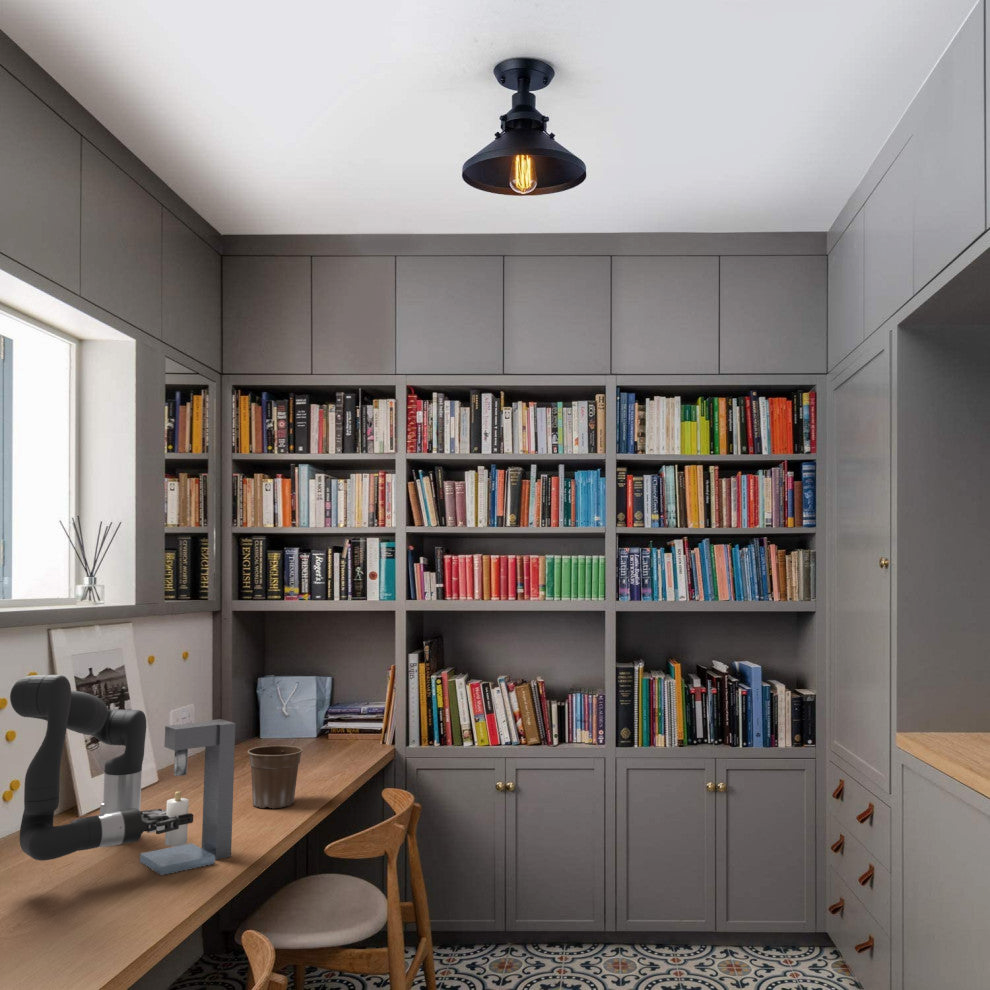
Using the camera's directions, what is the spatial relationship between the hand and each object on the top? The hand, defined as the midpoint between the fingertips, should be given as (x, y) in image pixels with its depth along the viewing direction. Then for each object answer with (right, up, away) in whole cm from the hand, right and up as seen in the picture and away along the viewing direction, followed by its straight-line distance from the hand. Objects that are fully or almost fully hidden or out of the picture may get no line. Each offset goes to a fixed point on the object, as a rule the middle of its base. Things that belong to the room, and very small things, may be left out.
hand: (187, 815), depth 223 cm
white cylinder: (-2, -6, -2) cm, 7 cm away
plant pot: (+8, -15, +53) cm, 56 cm away
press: (-3, -11, +3) cm, 12 cm away
